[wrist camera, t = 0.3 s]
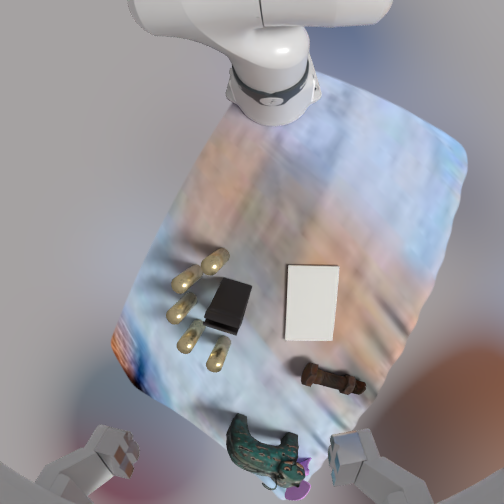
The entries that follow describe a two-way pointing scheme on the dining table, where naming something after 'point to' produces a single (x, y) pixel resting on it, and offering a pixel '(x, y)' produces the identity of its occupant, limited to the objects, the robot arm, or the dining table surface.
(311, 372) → the bolt
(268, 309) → the dining table surface
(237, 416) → the green animal figurine
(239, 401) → the dining table surface
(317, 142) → the dining table surface
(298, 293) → the mat
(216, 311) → the phone stand
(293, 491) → the toy chair
